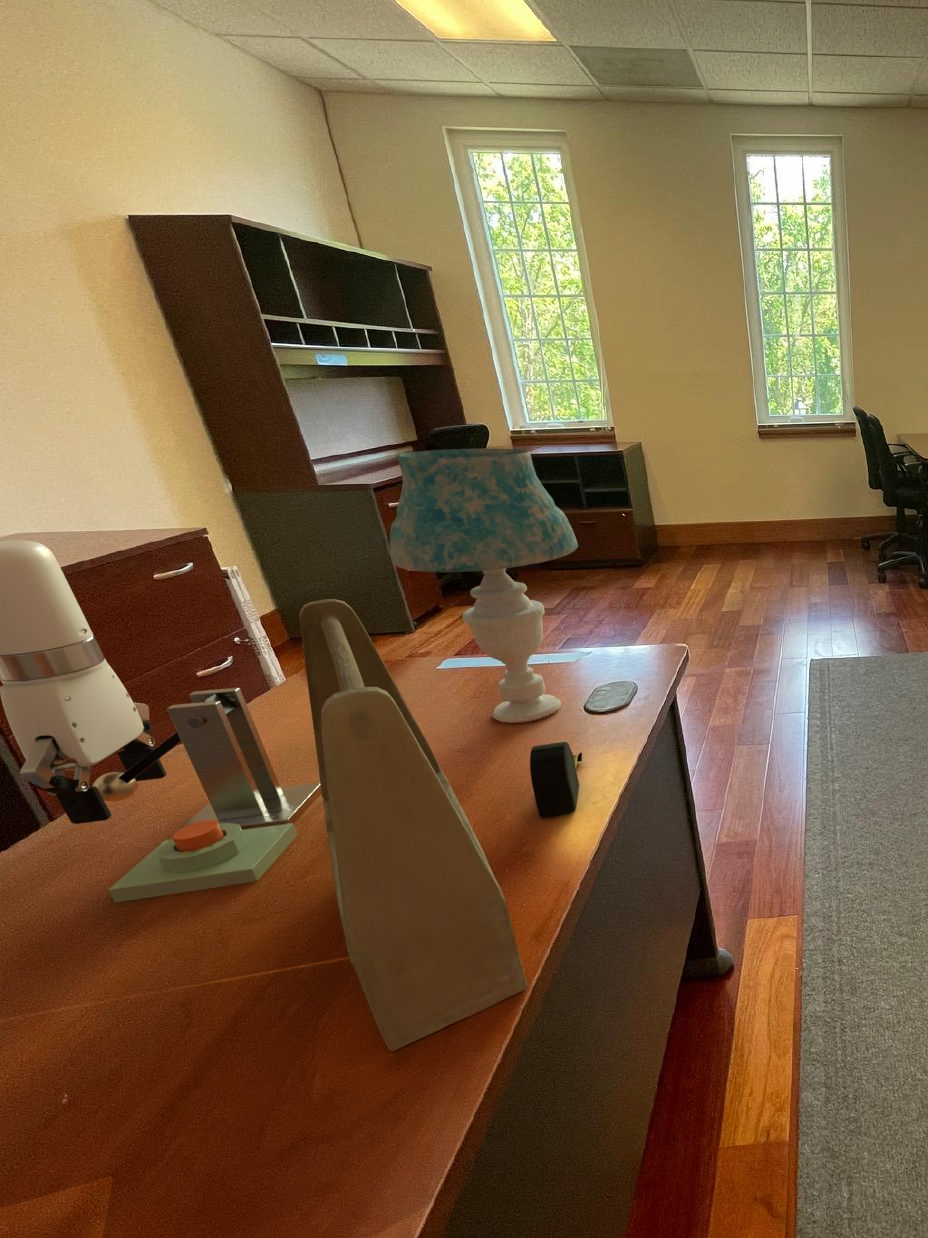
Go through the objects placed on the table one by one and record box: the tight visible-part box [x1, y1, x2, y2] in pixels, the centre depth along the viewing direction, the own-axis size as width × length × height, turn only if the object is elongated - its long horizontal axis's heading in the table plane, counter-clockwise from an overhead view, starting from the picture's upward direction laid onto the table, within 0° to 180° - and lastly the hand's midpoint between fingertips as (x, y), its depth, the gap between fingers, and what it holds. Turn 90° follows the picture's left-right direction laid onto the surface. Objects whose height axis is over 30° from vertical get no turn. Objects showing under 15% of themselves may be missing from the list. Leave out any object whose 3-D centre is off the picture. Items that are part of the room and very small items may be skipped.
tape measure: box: [529, 741, 583, 818], centre depth 92 cm, size 15×4×8 cm, turn 21°
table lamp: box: [389, 447, 579, 724], centre depth 108 cm, size 24×24×40 cm
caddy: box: [299, 598, 528, 1053], centre depth 63 cm, size 29×11×30 cm, turn 41°
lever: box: [92, 694, 235, 803], centre depth 82 cm, size 17×3×3 cm
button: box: [171, 820, 224, 852], centre depth 76 cm, size 4×4×2 cm
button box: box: [108, 823, 298, 903], centre depth 77 cm, size 12×9×4 cm
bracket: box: [166, 687, 322, 830], centre depth 84 cm, size 11×9×16 cm
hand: (122, 798), depth 82 cm, fingers open, 9 cm apart
